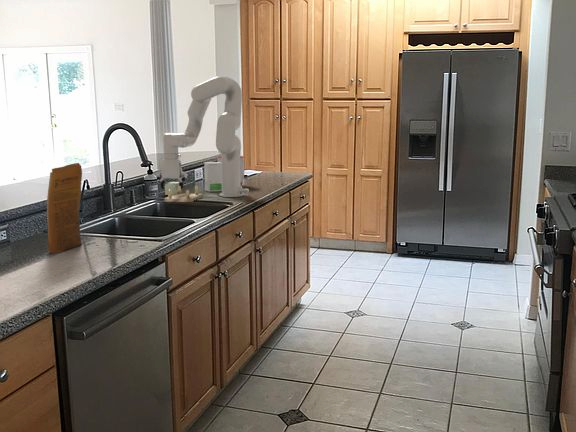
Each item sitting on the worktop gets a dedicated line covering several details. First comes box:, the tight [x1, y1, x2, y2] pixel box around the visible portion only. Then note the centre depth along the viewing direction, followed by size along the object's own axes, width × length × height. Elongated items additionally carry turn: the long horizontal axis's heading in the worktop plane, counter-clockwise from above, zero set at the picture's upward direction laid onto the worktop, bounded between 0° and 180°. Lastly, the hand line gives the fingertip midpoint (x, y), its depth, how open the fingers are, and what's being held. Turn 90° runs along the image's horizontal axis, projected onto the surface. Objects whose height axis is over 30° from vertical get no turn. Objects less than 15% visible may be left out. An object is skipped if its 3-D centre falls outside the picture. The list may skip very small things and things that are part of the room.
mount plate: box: [163, 185, 203, 203], centre depth 310 cm, size 14×17×6 cm
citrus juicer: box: [216, 155, 245, 186], centre depth 355 cm, size 16×17×20 cm
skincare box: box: [204, 161, 222, 193], centre depth 337 cm, size 8×7×16 cm
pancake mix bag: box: [46, 162, 83, 254], centre depth 206 cm, size 7×19×28 cm, turn 162°
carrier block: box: [164, 181, 180, 196], centre depth 326 cm, size 5×10×6 cm, turn 172°
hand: (172, 189), depth 326 cm, fingers open, 9 cm apart
